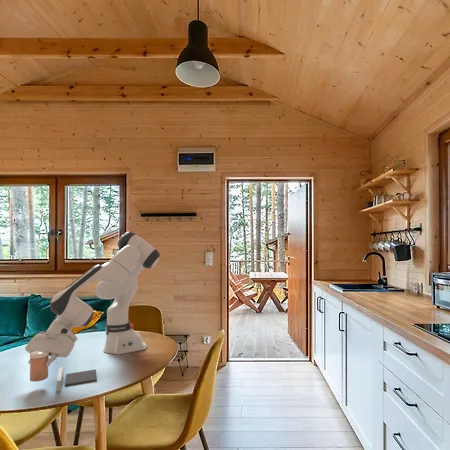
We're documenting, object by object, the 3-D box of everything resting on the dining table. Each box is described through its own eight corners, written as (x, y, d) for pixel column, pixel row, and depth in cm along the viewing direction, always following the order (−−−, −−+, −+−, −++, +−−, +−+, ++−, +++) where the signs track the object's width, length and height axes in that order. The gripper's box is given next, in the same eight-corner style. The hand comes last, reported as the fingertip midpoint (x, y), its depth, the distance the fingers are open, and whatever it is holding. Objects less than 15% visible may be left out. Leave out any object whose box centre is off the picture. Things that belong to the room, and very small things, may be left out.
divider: (63, 376, 142) (63, 366, 142) (60, 391, 127) (60, 380, 128) (59, 376, 141) (59, 367, 142) (56, 391, 127) (56, 381, 127)
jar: (49, 373, 135) (50, 349, 135) (47, 380, 128) (48, 354, 129) (30, 376, 132) (31, 351, 133) (27, 383, 126) (28, 356, 126)
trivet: (95, 371, 147) (95, 369, 147) (96, 381, 136) (96, 379, 136) (66, 375, 142) (66, 373, 142) (64, 386, 131) (64, 384, 132)
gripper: (34, 327, 141) (13, 358, 131) (73, 331, 135) (54, 363, 125) (42, 335, 145) (22, 365, 135) (80, 339, 139) (62, 371, 129)
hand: (38, 364), depth 130 cm, fingers closed on jar, 6 cm apart
